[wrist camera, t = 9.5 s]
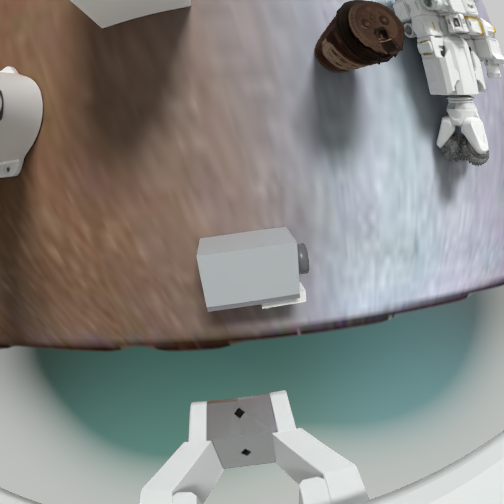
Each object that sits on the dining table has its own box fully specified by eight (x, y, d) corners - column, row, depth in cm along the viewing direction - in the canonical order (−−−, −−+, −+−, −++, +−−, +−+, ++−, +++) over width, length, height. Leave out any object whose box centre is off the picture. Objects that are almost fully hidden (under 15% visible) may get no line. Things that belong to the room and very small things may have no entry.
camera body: (209, 287, 45) (207, 312, 38) (200, 238, 42) (196, 256, 36) (299, 274, 45) (312, 296, 39) (296, 225, 43) (309, 240, 36)
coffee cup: (357, 89, 37) (407, 74, 25) (303, 72, 35) (337, 45, 23) (364, 39, 34) (411, 12, 22) (312, 21, 33) (346, -17, 20)
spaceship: (434, -24, 28) (475, -39, 17) (477, 146, 43) (522, 160, 32) (366, -33, 28) (404, -60, 17) (420, 160, 43) (468, 177, 33)
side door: (258, 296, 45) (262, 312, 40) (256, 282, 44) (261, 298, 40) (298, 289, 45) (306, 305, 41) (297, 276, 44) (305, 291, 40)
